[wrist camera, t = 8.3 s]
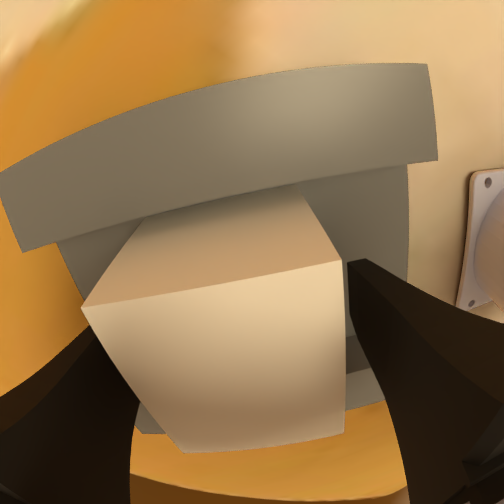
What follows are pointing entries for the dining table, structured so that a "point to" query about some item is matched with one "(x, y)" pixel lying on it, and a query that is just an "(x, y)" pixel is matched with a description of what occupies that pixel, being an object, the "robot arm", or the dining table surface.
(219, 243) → the cream cube
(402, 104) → the socket
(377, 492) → the dining table surface
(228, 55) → the dining table surface
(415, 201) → the dining table surface
